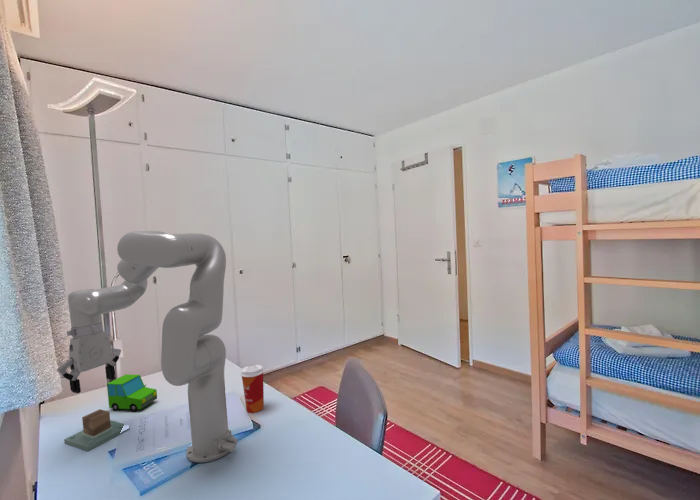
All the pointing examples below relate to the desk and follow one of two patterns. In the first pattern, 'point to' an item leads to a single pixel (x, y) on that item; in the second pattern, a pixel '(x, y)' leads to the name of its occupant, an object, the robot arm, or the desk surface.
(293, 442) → the desk surface
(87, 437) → the baseplate
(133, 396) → the toy car
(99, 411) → the walnut cube
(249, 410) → the paper cup
